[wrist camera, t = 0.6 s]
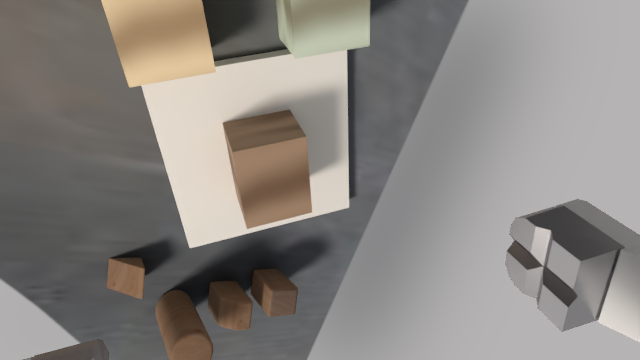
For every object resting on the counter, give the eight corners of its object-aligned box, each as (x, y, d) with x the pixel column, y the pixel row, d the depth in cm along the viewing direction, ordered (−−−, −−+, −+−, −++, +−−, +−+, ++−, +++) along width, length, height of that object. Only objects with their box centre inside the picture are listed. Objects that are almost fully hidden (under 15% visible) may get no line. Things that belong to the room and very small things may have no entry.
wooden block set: (274, 248, 55) (311, 280, 46) (266, 317, 56) (301, 361, 47) (108, 252, 47) (113, 291, 38) (103, 332, 48) (107, 389, 39)
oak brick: (94, -52, 31) (89, -38, 27) (184, -62, 33) (192, -50, 29) (129, 61, 36) (129, 87, 32) (207, 49, 37) (216, 72, 33)
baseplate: (139, 73, 37) (139, 79, 36) (341, 39, 40) (346, 44, 39) (188, 240, 47) (189, 248, 46) (345, 200, 51) (349, 207, 50)
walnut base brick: (222, 122, 40) (232, 152, 36) (289, 109, 41) (306, 136, 37) (236, 196, 45) (247, 228, 41) (296, 181, 46) (312, 212, 42)
